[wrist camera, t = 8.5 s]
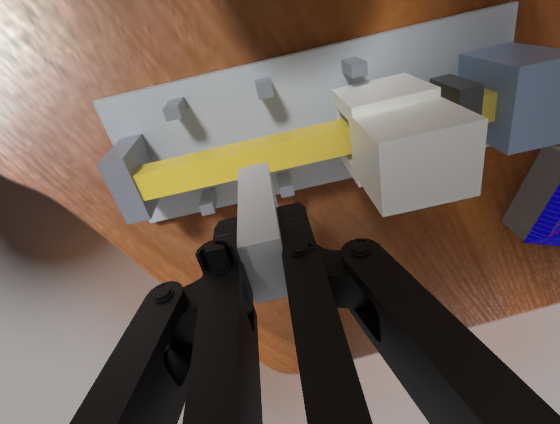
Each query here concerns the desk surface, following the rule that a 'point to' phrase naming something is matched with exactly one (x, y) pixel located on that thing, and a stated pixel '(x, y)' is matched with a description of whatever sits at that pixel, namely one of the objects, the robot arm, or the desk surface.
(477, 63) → the comb rig
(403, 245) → the desk surface
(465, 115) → the sleeve
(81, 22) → the desk surface
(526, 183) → the house
